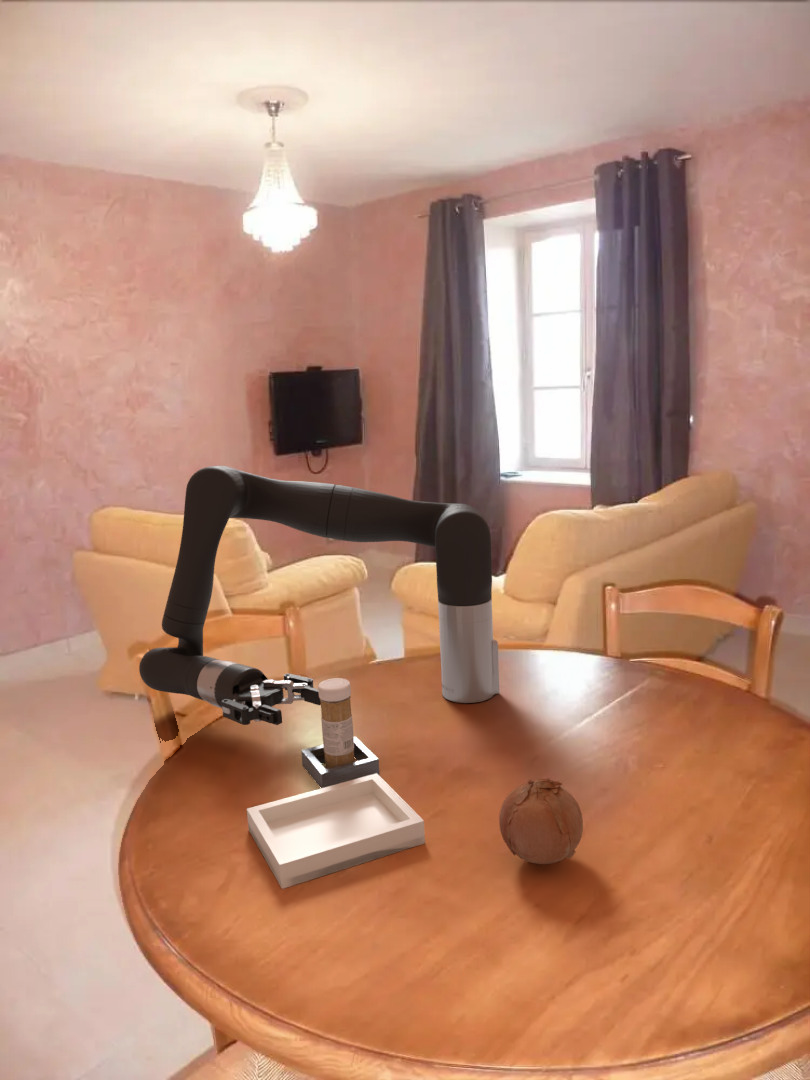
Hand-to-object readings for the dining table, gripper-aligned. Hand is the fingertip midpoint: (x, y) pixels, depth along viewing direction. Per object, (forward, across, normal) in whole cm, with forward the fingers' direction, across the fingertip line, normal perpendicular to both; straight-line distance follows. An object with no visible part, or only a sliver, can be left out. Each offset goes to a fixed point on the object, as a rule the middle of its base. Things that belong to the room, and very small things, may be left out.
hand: (301, 707), depth 123 cm
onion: (+42, -3, +8) cm, 43 cm away
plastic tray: (+19, -13, +8) cm, 24 cm away
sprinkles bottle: (+7, 0, +8) cm, 11 cm away
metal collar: (+7, 0, +8) cm, 11 cm away
